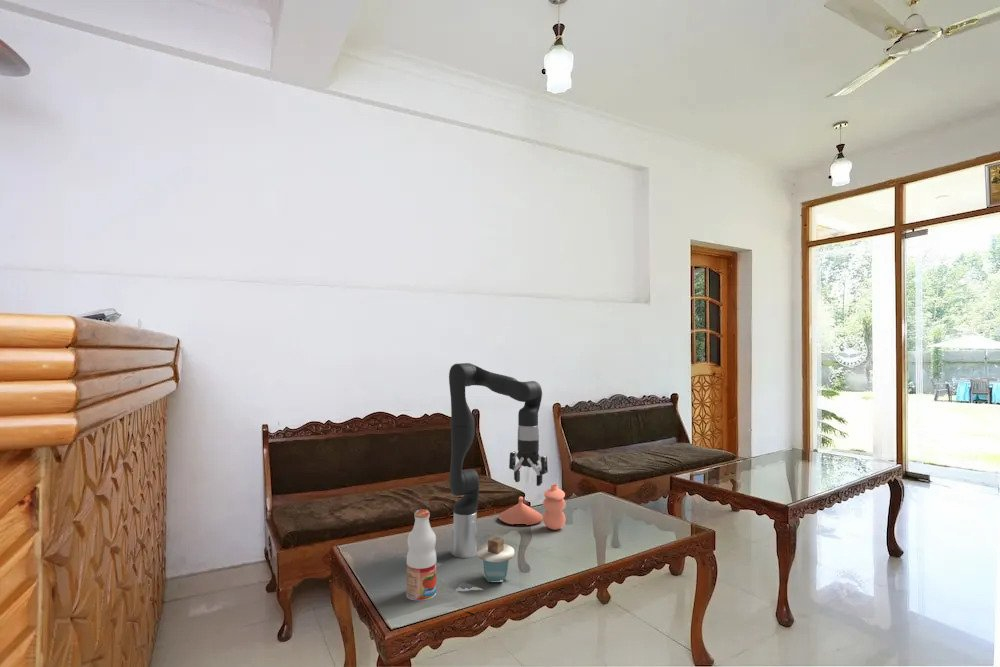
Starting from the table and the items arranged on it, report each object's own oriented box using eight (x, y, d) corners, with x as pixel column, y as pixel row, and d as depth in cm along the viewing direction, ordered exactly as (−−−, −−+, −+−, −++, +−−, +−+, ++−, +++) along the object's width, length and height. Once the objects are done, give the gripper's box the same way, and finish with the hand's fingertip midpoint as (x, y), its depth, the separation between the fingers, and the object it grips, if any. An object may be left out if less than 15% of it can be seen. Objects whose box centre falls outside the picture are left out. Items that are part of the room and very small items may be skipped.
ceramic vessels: (489, 516, 231) (489, 476, 231) (518, 506, 246) (518, 468, 247) (548, 537, 207) (549, 492, 207) (577, 524, 223) (577, 482, 223)
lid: (469, 556, 168) (469, 541, 168) (489, 543, 179) (489, 529, 179) (502, 565, 162) (502, 550, 162) (521, 551, 173) (521, 536, 173)
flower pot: (507, 573, 175) (507, 548, 175) (508, 585, 166) (509, 559, 166) (482, 573, 175) (482, 548, 175) (482, 586, 166) (483, 559, 166)
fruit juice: (412, 591, 162) (412, 506, 162) (439, 593, 161) (440, 507, 161) (401, 606, 153) (402, 516, 153) (431, 609, 151) (431, 517, 152)
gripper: (505, 437, 175) (505, 483, 175) (541, 441, 168) (541, 489, 167) (515, 434, 181) (515, 478, 181) (550, 438, 174) (550, 484, 174)
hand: (528, 483), depth 174 cm, fingers open, 8 cm apart
